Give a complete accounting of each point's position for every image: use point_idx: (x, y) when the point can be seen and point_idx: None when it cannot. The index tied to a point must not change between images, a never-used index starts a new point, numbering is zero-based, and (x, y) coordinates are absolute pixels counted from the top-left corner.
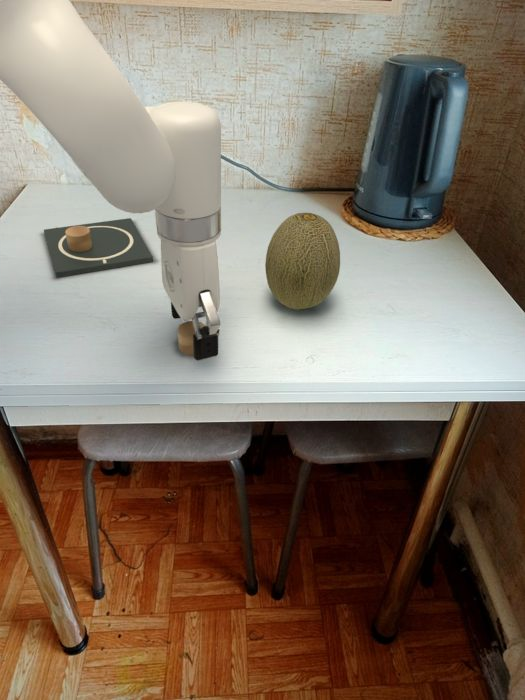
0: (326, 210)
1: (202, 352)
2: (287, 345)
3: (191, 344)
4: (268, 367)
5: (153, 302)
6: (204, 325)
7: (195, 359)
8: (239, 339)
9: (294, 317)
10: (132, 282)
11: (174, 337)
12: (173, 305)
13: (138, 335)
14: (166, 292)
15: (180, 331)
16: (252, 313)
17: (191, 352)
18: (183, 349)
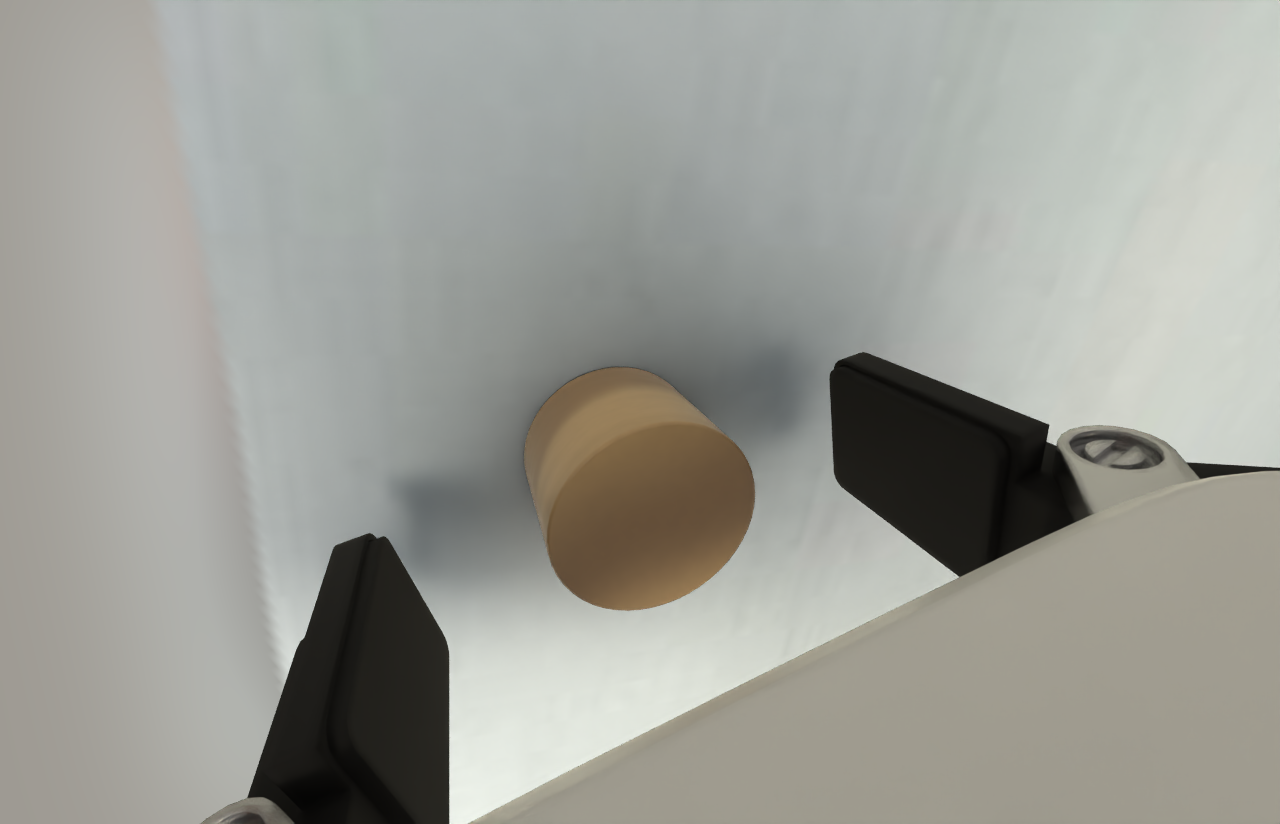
0: None
1: (293, 667)
2: None
3: (539, 495)
4: None
5: (1038, 210)
6: (689, 588)
7: (334, 548)
8: (640, 649)
9: None
10: (1238, 84)
11: (711, 337)
12: (742, 708)
13: (780, 80)
14: (1095, 530)
15: (644, 445)
16: None
17: (529, 457)
18: (554, 412)
